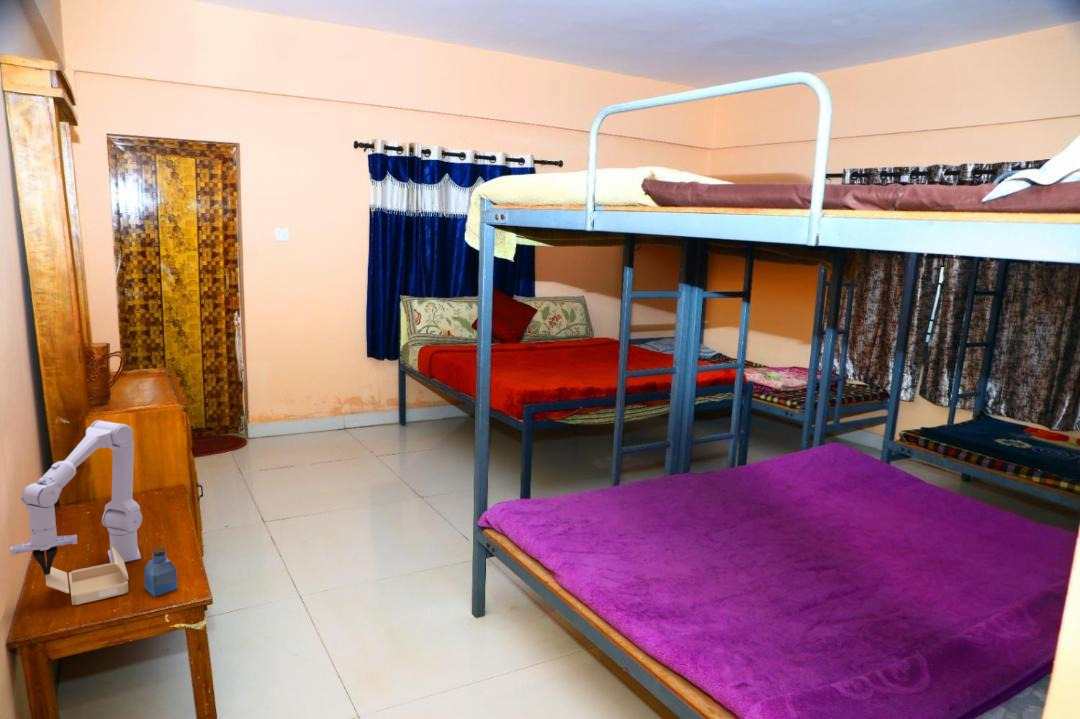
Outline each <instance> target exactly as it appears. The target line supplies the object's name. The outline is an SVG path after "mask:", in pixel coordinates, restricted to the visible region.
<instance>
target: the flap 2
mask: <svg viewBox="0 0 1080 719" xmlns="http://www.w3.org/2000/svg"><path fill="white" fill-rule="evenodd" d="M112 551H113V555H114V559H115V563H116V565H117V567H118V568H119V569H120V571H121V572H122V573H123V575H124V576H125V577H126V579H127V581H128V580H129V579H130V578H129V574H128V571H127V567H126V564H125V563H126V562H124V560H123V559H122V558H121V556H120V555H119V554H118V552H117V551H116V550H115V548H114V547H113V546H112Z"/></svg>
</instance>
